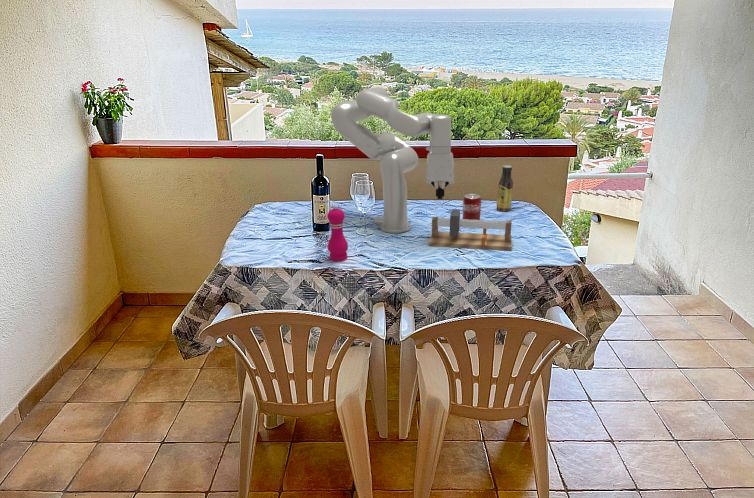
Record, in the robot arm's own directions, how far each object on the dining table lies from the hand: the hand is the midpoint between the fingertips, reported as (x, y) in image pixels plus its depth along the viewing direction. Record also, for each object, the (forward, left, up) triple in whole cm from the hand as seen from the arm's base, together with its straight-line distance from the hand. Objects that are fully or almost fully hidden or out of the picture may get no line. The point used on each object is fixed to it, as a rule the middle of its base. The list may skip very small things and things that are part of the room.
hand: (440, 198), depth 195 cm
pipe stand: (+12, -3, -16) cm, 20 cm away
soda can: (+11, +18, -16) cm, 27 cm away
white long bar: (+12, -3, -10) cm, 16 cm away
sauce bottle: (+24, +39, -16) cm, 49 cm away
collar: (+6, -3, -13) cm, 14 cm away
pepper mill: (-33, -26, -16) cm, 45 cm away
